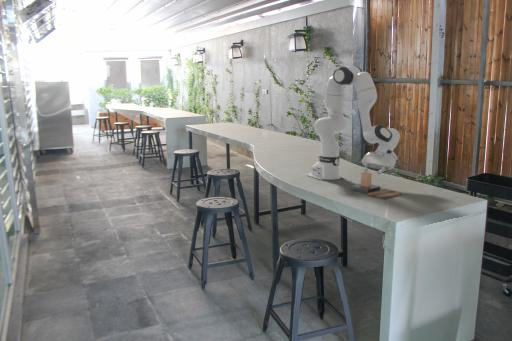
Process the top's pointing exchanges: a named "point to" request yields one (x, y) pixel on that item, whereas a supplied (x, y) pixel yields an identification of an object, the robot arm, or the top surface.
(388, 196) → the board
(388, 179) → the top surface
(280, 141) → the top surface
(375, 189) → the socket
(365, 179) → the peg
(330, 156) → the robot arm
